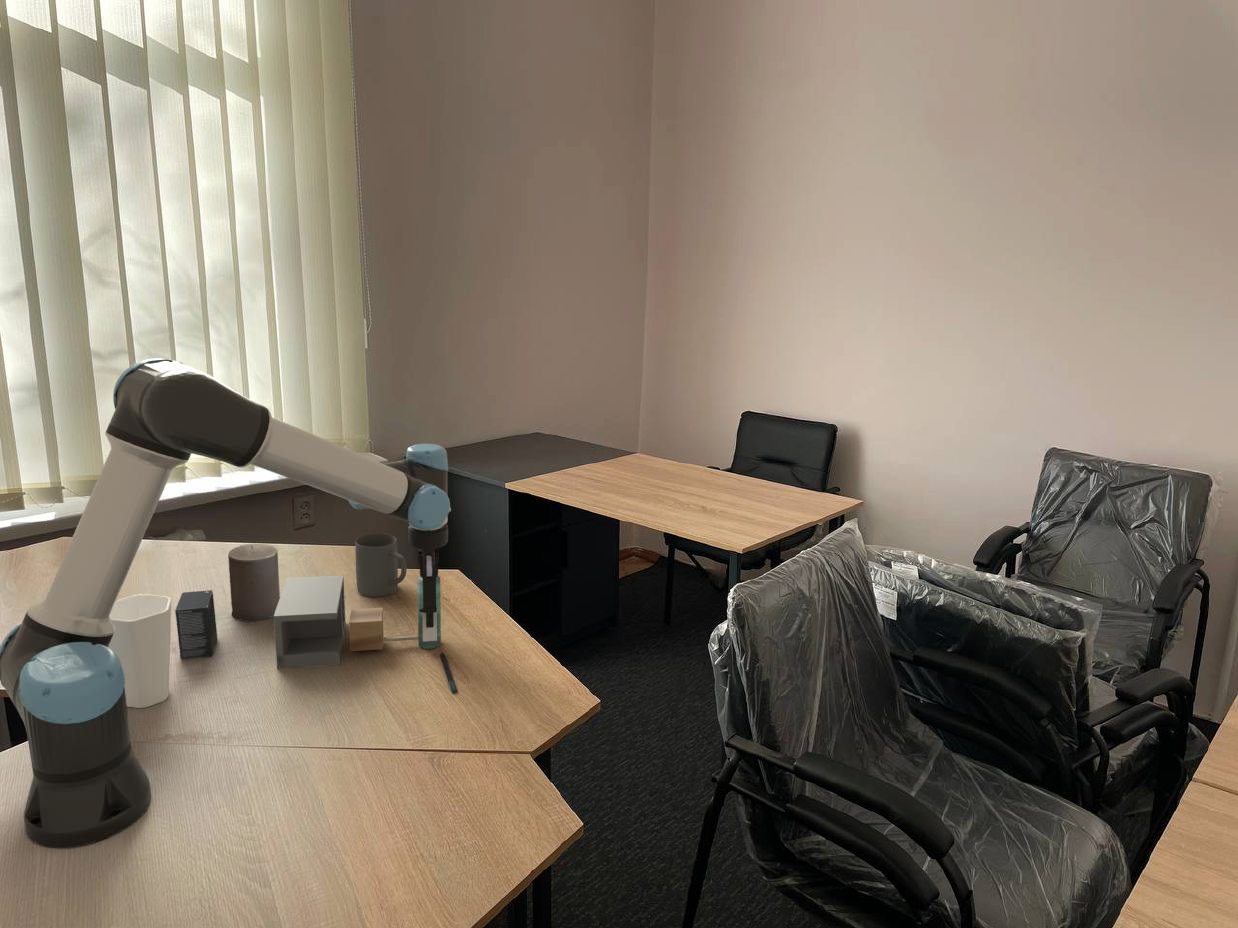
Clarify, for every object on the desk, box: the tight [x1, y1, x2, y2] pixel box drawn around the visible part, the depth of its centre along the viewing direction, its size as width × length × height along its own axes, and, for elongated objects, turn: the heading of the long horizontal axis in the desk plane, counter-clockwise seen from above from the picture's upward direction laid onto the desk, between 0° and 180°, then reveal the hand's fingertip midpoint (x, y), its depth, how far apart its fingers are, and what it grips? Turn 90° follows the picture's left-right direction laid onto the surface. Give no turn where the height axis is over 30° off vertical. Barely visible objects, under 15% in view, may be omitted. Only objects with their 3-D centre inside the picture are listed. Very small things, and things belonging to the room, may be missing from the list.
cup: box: [108, 593, 172, 709], centre depth 148 cm, size 11×10×17 cm
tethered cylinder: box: [348, 575, 442, 652], centre depth 170 cm, size 6×17×14 cm, turn 103°
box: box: [174, 589, 218, 661], centre depth 166 cm, size 8×6×11 cm
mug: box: [354, 532, 407, 598], centre depth 195 cm, size 14×9×12 cm
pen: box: [439, 651, 458, 694], centre depth 163 cm, size 1×16×1 cm, turn 20°
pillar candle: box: [227, 543, 281, 622], centre depth 182 cm, size 10×10×15 cm
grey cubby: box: [273, 574, 346, 669], centre depth 170 cm, size 18×11×11 cm, turn 13°
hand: (429, 634), depth 173 cm, fingers closed on tethered cylinder, 4 cm apart
